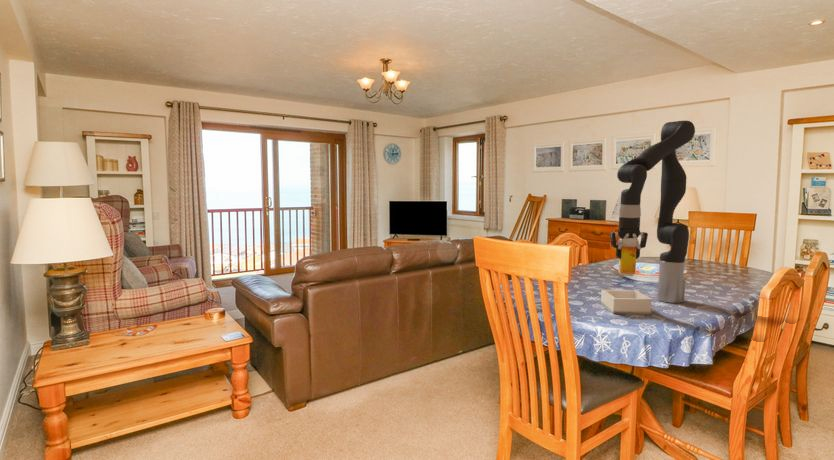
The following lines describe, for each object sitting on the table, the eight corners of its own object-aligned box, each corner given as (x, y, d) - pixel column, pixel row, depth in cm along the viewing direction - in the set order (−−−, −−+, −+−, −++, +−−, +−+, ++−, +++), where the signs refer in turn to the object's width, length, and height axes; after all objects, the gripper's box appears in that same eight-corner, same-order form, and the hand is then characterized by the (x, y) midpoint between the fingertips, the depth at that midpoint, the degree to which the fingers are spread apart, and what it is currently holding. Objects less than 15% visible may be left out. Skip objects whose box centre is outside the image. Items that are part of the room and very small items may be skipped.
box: (635, 304, 188) (636, 290, 187) (650, 314, 174) (651, 299, 174) (600, 303, 189) (601, 289, 188) (613, 313, 175) (613, 298, 175)
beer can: (636, 276, 177) (639, 238, 175) (620, 275, 178) (622, 238, 176) (632, 273, 182) (634, 236, 181) (616, 272, 184) (618, 236, 182)
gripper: (644, 215, 181) (642, 256, 183) (607, 215, 182) (605, 256, 184) (652, 217, 173) (650, 260, 175) (614, 216, 174) (612, 259, 176)
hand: (627, 258), depth 179 cm, fingers closed on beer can, 6 cm apart
